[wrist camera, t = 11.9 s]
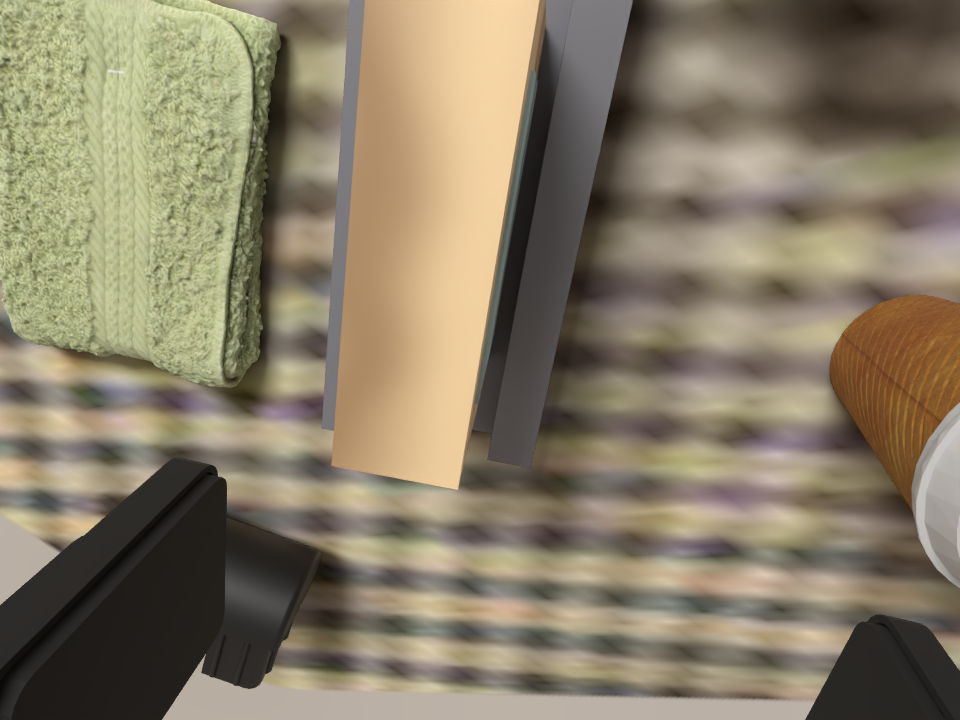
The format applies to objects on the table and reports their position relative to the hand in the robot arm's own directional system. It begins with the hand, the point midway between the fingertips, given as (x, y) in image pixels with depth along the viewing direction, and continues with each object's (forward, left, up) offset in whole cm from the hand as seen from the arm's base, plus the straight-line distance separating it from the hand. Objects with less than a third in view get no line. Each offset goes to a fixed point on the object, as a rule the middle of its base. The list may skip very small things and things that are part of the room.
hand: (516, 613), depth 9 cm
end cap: (+14, +19, -22) cm, 32 cm away
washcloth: (+19, 0, -22) cm, 29 cm away
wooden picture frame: (+4, -3, -20) cm, 20 cm away
